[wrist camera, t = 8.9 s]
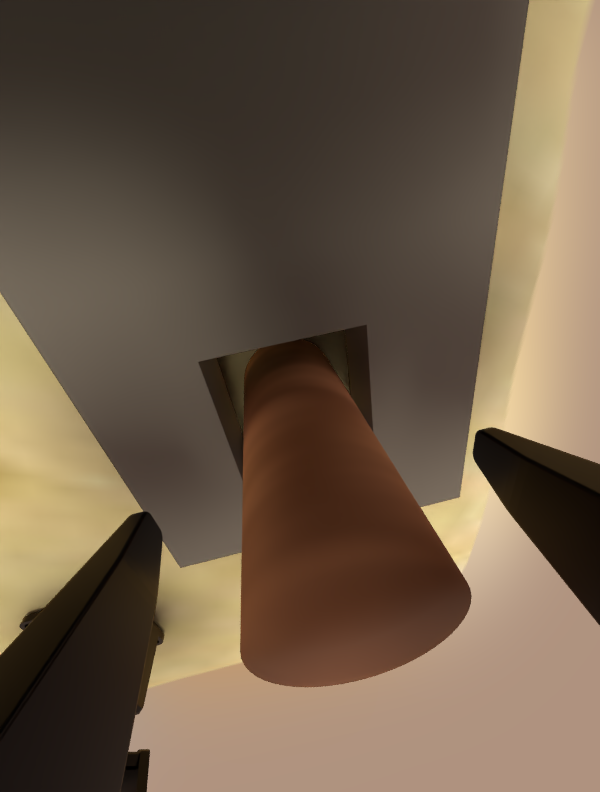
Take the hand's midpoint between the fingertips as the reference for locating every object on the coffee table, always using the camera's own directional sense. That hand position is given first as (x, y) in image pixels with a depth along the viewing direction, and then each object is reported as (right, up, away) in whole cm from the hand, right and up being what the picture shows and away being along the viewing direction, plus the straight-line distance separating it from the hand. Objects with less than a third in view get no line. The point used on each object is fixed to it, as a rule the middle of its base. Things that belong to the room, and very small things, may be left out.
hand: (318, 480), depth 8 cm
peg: (-1, +3, +6) cm, 7 cm away
